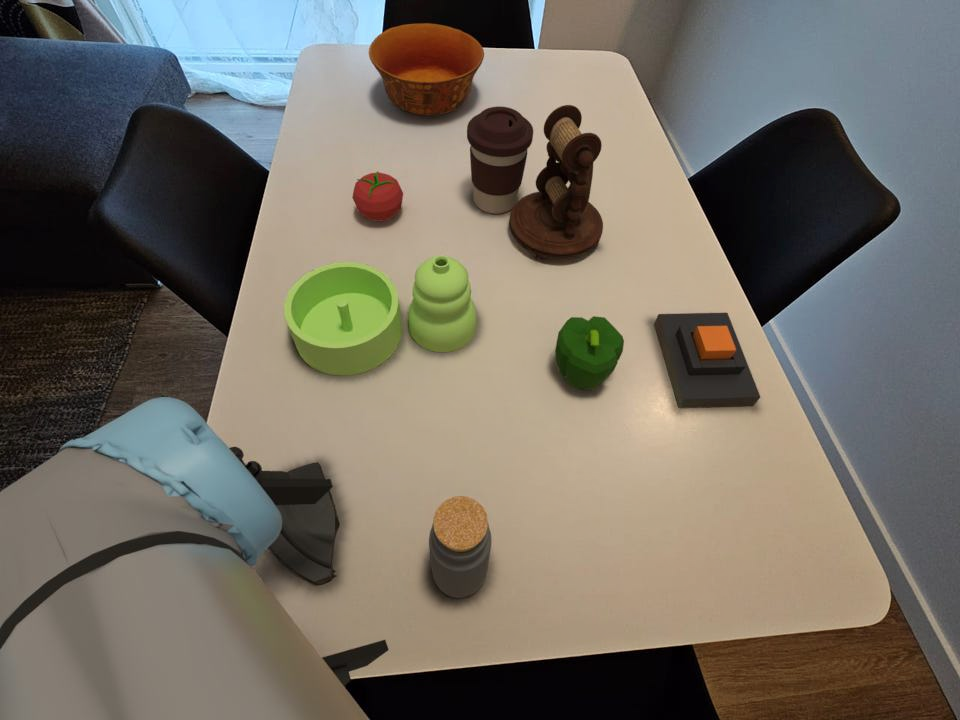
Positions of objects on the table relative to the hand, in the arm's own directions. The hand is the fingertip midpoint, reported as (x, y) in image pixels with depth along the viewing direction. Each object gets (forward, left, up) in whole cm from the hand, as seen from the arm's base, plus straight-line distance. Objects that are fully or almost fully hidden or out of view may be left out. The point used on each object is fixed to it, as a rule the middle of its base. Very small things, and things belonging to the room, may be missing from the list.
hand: (347, 566), depth 45 cm
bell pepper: (+29, -26, -16) cm, 42 cm away
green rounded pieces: (+37, 0, -16) cm, 40 cm away
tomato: (+61, +2, -16) cm, 63 cm away
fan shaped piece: (+10, +9, -16) cm, 21 cm away
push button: (+30, -43, -16) cm, 55 cm away
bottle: (+4, -9, -16) cm, 19 cm away
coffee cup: (+64, -17, -16) cm, 68 cm away
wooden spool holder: (+56, -26, -16) cm, 64 cm away
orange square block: (+30, -43, -13) cm, 54 cm away
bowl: (+94, -6, -16) cm, 95 cm away
